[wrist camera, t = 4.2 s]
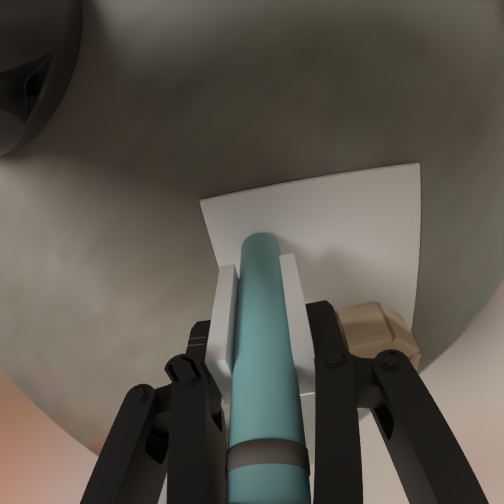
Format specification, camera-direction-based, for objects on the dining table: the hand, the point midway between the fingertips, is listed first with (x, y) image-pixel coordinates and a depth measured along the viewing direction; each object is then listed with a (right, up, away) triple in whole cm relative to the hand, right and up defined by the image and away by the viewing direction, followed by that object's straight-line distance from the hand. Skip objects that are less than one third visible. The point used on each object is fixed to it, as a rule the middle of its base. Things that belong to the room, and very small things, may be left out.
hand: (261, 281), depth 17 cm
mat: (+5, -3, +6) cm, 9 cm away
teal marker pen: (0, +2, +3) cm, 3 cm away
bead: (+8, -6, +8) cm, 13 cm away
